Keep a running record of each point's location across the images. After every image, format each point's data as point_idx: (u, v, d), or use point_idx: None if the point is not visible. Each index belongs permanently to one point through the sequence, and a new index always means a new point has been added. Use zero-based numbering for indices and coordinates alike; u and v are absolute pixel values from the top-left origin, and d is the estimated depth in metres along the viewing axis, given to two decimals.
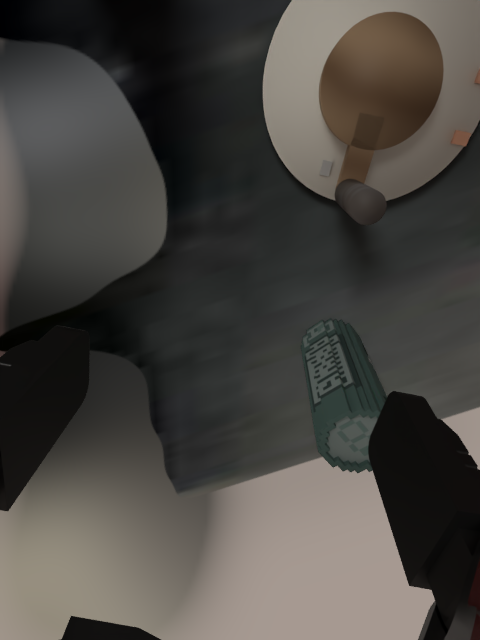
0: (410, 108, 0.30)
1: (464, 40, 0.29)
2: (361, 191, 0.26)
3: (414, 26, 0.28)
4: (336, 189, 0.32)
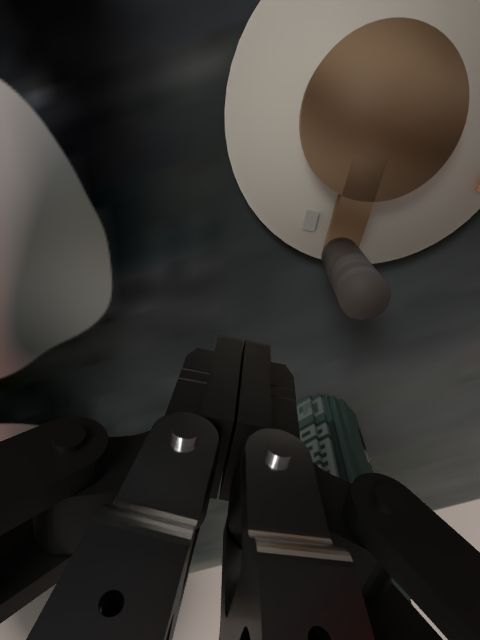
0: (422, 148, 0.22)
1: None
2: (354, 276, 0.18)
3: (430, 38, 0.20)
4: (323, 251, 0.24)
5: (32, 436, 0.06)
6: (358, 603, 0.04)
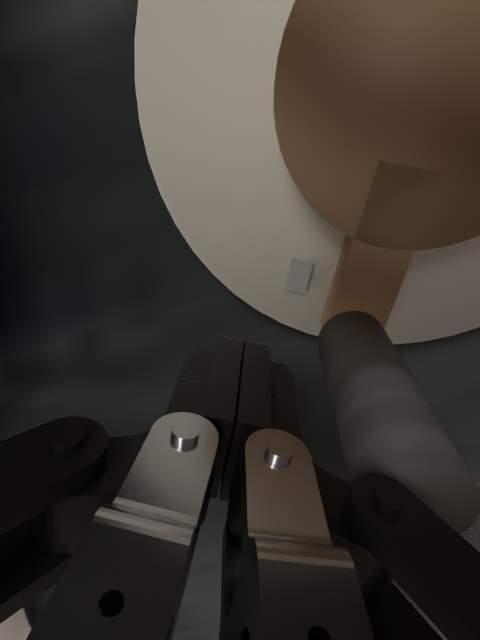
0: None
1: None
2: (395, 464, 0.07)
3: None
4: (321, 335, 0.14)
5: (32, 436, 0.06)
6: (359, 604, 0.04)
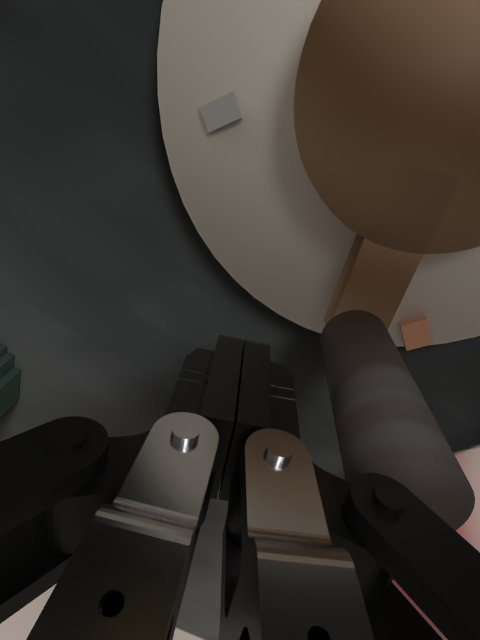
0: None
1: None
2: (392, 460, 0.08)
3: None
4: (324, 332, 0.14)
5: (32, 436, 0.06)
6: (358, 604, 0.04)
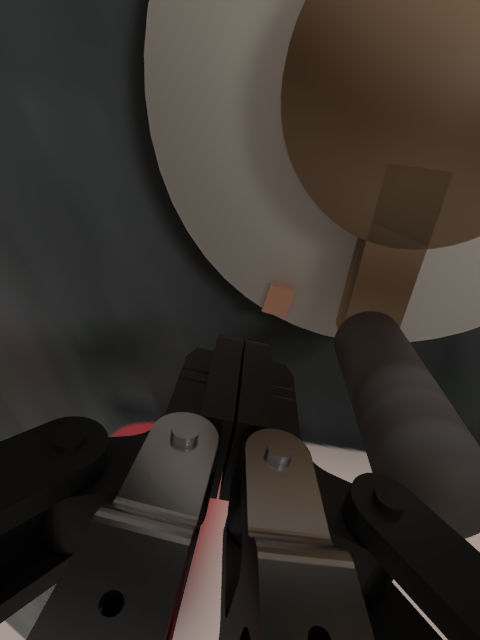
0: None
1: (454, 287, 0.15)
2: (419, 461, 0.08)
3: None
4: (337, 337, 0.14)
5: (32, 436, 0.06)
6: (357, 603, 0.04)
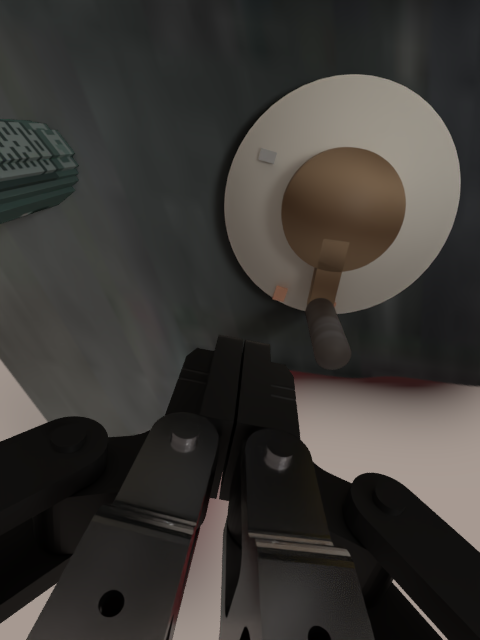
0: (375, 233, 0.29)
1: (360, 287, 0.33)
2: (324, 340, 0.25)
3: (371, 159, 0.27)
4: (306, 309, 0.32)
5: (32, 436, 0.06)
6: (359, 605, 0.04)
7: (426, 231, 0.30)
